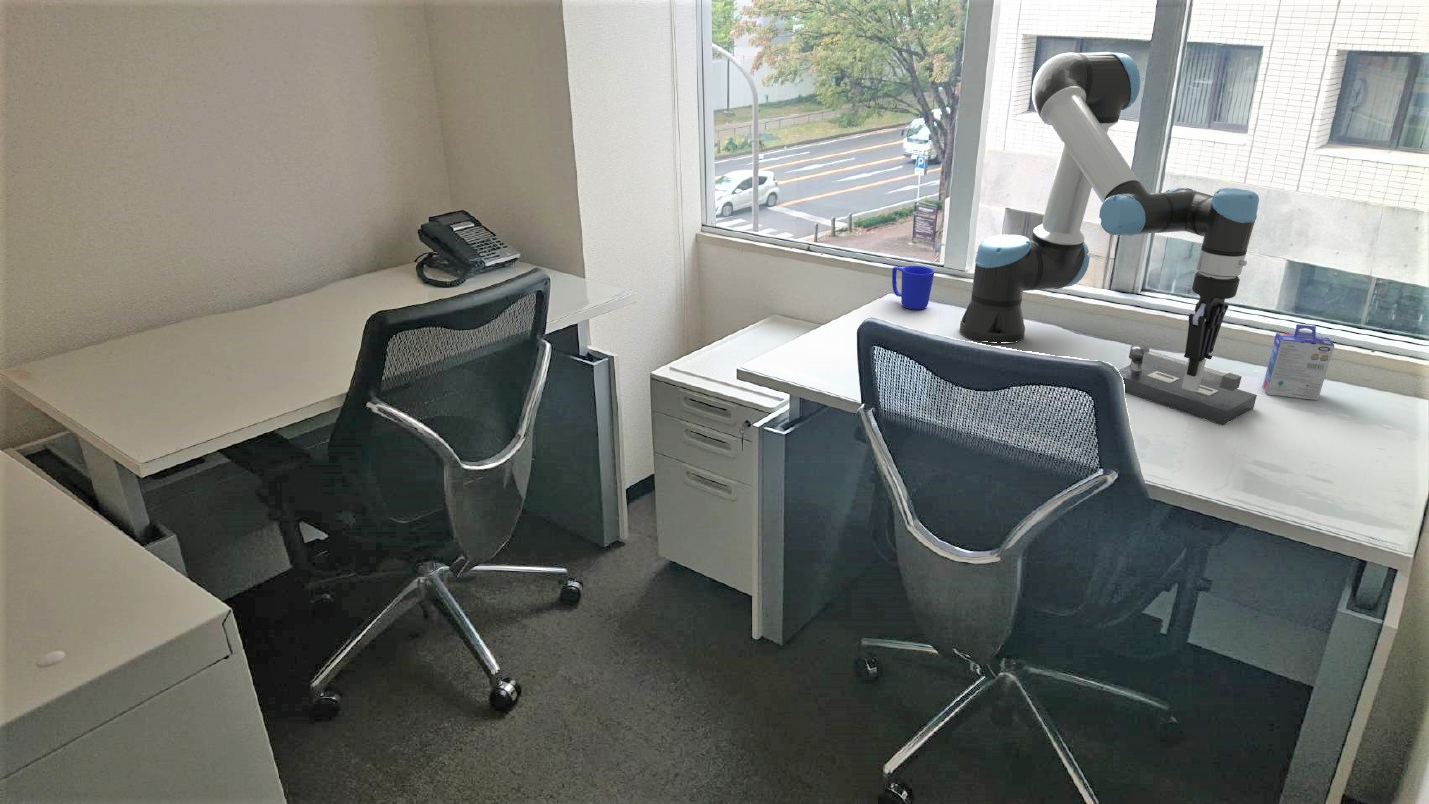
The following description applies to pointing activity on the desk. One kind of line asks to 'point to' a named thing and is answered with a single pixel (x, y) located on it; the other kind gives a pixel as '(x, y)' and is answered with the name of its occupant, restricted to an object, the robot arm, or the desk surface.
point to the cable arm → (1183, 367)
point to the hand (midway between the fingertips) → (1190, 389)
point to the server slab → (1185, 393)
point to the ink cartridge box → (1298, 364)
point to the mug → (914, 286)
